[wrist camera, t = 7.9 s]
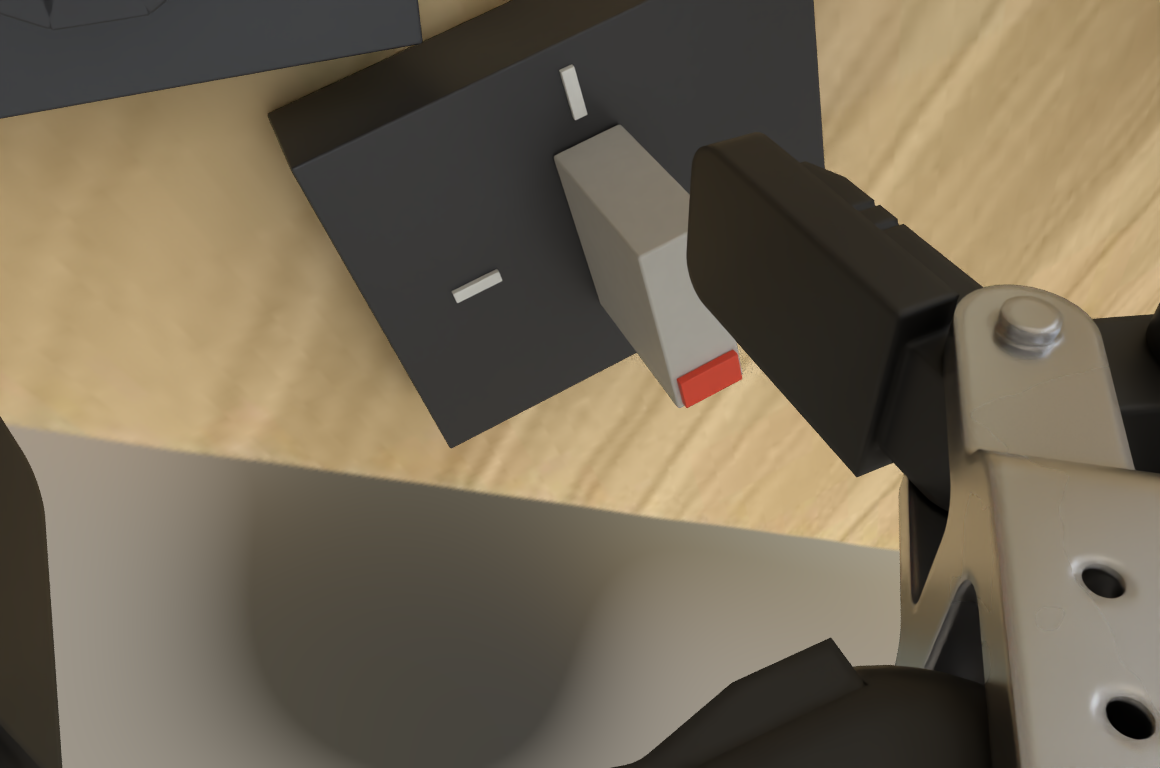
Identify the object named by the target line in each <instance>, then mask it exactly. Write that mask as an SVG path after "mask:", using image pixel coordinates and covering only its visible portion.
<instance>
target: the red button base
mask: <svg viewBox="0 0 1160 768" xmlns="http://www.w3.org/2000/svg"><path fill="white" fill-rule="evenodd" d="M421 43H422V32H421V23H420V15H419V6H418V0H0V119H1V118H7V117H12V116H18V115H23V114H29V113H35V112H40V111H46V110H51V109H57V108H63V107H68V106H74V105H80V104H85V103H91V102H96V101H102V100H108V99H113V98H119V97H124V96H130V95H136V94H141V93H147V92H153V91H158V90H164V89H169V88H175V87H181V86H186V85H192V84H197V83H203V82H209V81H214V80H220V79H226V78H231V77H237V76H242V75H248V74H254V73H259V72H265V71H270V70H276V69H282V68H287V67H293V66H299V65H304V64H310V63H315V62H321V61H327V60H332V59H338V58H343V57H349V56H355V55H360V54H366V53H371V52H377V51H383V50H388V49H394V48H400V47H405V46H411V45H416V44H421Z"/></svg>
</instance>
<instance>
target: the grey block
mask: <svg viewBox="0 0 1160 768" xmlns="http://www.w3.org/2000/svg"><path fill="white" fill-rule="evenodd" d="M554 161H555V164H556V167H557V170H558V173H559V176H560V179H561V182H562V186H563V189H564V192H565V195H566V198H567V201H568V204H569V207H570V210H571V214H572V217H573V220H574V223H575V226H576V229H577V232H578V235H579V238H580V241H581V245H582V248H583V251H584V254H585V257H586V260H587V263H588V266H589V269H590V273H591V276H592V279H593V282H594V285H595V288H596V291H597V294H598V297H599V301H600V304H601V305H602V306H603V308H604V309H605V310H606V312H607V313H608V314H609V316H610V317H611V318H612V320H613V321H614V323H615V324H616V325H617V327H618V328H619V329H620V331H621V332H622V333H623V335H624V336H625V337H626V339H627V340H628V341H629V343H630V344H631V345H632V347H633V348H634V349H635V351H636V352H637V354H638V355H639V356H640V358H641V359H642V360H643V362H644V363H645V364H646V366H647V367H648V368H649V370H650V371H651V372H652V374H653V375H654V376H655V378H656V379H657V380H658V382H659V383H660V385H661V386H662V387H663V389H664V390H665V391H666V393H667V394H668V395H669V397H670V398H671V399H672V401H673V402H674V403H675V405H676V406H677V407H678V408H681V407H683V406H685V407H686V408H688V407H690V406H692V405H694V404H696V403H698V402H700V401H702V400H703V399H705V398H707V397H709V396H711V395H713V394H715V393H717V392H719V391H720V390H722V389H724V388H726V387H728V386H730V385H732V384H734V383H736V382H738V381H739V380H741V379H742V369H741V364H740V358H739V353H738V347H737V342H736V341H735V339H734V338H733V337H732V336H731V335H730V334H729V333H728V332H727V330H726V329H725V328H724V327H723V326H722V325H721V324H720V323H719V321H718V320H717V319H716V318H715V317H714V316H713V315H712V314H711V312H710V311H709V310H708V309H707V308H706V307H705V306H704V304H703V303H702V302H701V301H700V299H699V297H698V296H697V294H696V292H695V290H694V288H693V285H692V283H691V280H690V277H689V273H688V268H687V260H686V250H687V233H688V216H689V200H690V195H689V194H688V193H687V192H686V191H685V190H684V189H683V188H682V187H681V185H680V184H679V183H678V182H677V181H676V180H675V179H674V178H673V177H672V176H671V175H670V174H669V173H668V172H667V171H666V170H665V169H664V168H663V167H662V166H661V165H660V164H659V163H658V162H657V161H656V160H655V159H654V158H653V157H652V156H651V155H650V154H649V153H648V152H647V151H646V150H645V149H644V148H643V147H642V146H641V145H640V144H639V143H638V142H637V141H636V140H635V139H634V138H633V137H632V136H631V135H630V134H629V133H628V132H627V131H626V130H625V129H624V128H623V127H622V126H621V125H616V126H614V127H612V128H610V129H608V130H606V131H604V132H602V133H600V134H598V135H596V136H594V137H592V138H590V139H588V140H586V141H584V142H581V143H579V144H577V145H575V146H573V147H571V148H569V149H567V150H565V151H563V152H561V153H559V154H557V155H555V156H554Z"/></svg>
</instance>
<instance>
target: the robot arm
mask: <svg viewBox="0 0 1160 768" xmlns="http://www.w3.org/2000/svg"><path fill="white" fill-rule="evenodd" d="M686 260H687V268H688V273H689V277H690V280H691V283H692V285H693V288H694V290H695V292H696V294H697V296H698V297H699V299H700V301H701V302H702V303H703V304H704V306H705V307H706V308H707V309H708V310H709V311H710V312H711V314H712V315H713V316H714V317H715V318H716V319H717V320H718V321H719V323H720V324H721V325H722V326H723V327H724V328H725V329H726V330H727V332H728V333H729V334H730V335H731V336H732V337H733V338H734V339H735V341H736V342H737V343H738V344H739V345H740V346H741V347H742V348H743V350H744V351H745V352H746V353H747V354H748V355H749V356H750V357H751V359H752V360H753V361H754V362H755V363H756V364H757V365H758V367H759V368H760V369H761V370H762V371H763V372H764V373H765V374H766V376H767V377H768V378H769V379H770V380H771V381H772V382H773V383H774V385H775V386H776V387H777V388H778V389H779V390H780V391H781V392H782V394H783V395H784V396H785V397H786V398H787V399H788V400H789V401H790V403H791V404H792V405H793V406H794V407H795V408H796V409H797V410H798V412H799V413H800V414H801V415H802V416H803V417H804V418H805V420H806V421H807V422H808V423H809V424H810V425H811V426H812V427H813V429H814V430H815V431H816V432H817V433H818V434H819V435H820V436H821V438H822V439H823V440H824V441H825V442H826V443H827V444H828V445H829V447H830V448H831V449H832V450H833V451H834V452H835V453H836V454H837V456H838V457H839V458H840V459H841V460H842V461H843V462H844V463H845V465H846V466H847V467H848V468H849V469H850V470H851V471H852V472H853V474H854V475H855V476H856V477H859V476H861V475H864V474H866V473H869V472H871V471H874V470H876V469H879V468H881V467H884V466H886V465H889V464H891V463H894V464H895V465H896V466H897V467H898V468H899V469H900V470H901V471H902V472H903V473H904V476H903V479H902V482H901V485H900V489H899V539H900V592H901V594H900V596H901V629H900V630H901V631H900V641H899V648H898V653H897V658H896V663H895V666H894V665H875V666H856V667H852V665H851V664H850V663H849V661H848V660H847V659H846V657H845V656H844V655H843V653H842V652H841V650H840V649H839V648H838V646H837V645H836V644H835V642H834V641H833V640H832V638H829V639H827V640H824V641H822V642H820V643H818V644H816V645H813V646H811V647H809V648H807V649H805V650H803V651H800V652H798V653H796V654H794V655H792V656H789V657H787V658H785V659H783V660H781V661H779V662H776V663H774V664H772V665H770V666H768V667H765V668H763V669H761V670H759V671H757V672H754V673H752V674H750V675H748V676H746V677H743V678H741V679H739V680H737V681H735V682H733V683H731V684H730V685H729V686H728V687H726V688H725V689H724V690H723V691H722V692H720V693H719V694H718V695H717V696H716V697H715V698H713V699H712V700H711V701H710V702H709V703H708V704H706V706H704V707H703V708H702V709H700V710H699V711H698V712H697V713H696V714H695V715H693V716H692V717H691V718H690V719H689V720H688V721H686V722H685V723H684V724H683V725H682V726H680V727H679V728H678V729H677V730H676V731H675V732H673V733H672V734H671V735H670V736H669V737H668V738H666V739H665V740H664V741H663V742H662V743H660V744H659V745H658V746H657V747H656V748H655V749H653V750H652V751H651V752H650V753H649V754H647V755H646V756H645V757H643V758H642V759H640V760H638V761H636V762H634V763H631V764H627V765H624V766H618V767H613V768H1160V303H1159V305H1158V307H1157V309H1156V311H1155V313H1154V314H1151V315H1138V316H1124V317H1111V318H1098V319H1092V318H1091V317H1090V316H1089V315H1088V314H1087V313H1086V312H1084V311H1083V310H1082V309H1081V308H1079V307H1078V306H1077V305H1075V304H1073V303H1072V302H1070V301H1069V300H1067V299H1065V298H1063V297H1060V296H1058V295H1056V294H1053V293H1051V292H1048V291H1045V290H1041V289H1037V288H1033V287H1028V286H1021V285H994V286H988V287H984V288H983V287H982V286H981V285H979V284H978V283H977V282H976V281H974V280H973V279H972V278H971V277H969V276H968V275H967V274H966V273H964V272H963V271H962V270H961V269H959V268H958V267H957V266H956V265H954V264H953V263H952V262H951V261H949V260H948V259H947V258H946V257H944V256H943V255H942V254H941V253H939V252H938V251H937V250H936V249H934V248H933V247H932V246H931V245H929V244H928V243H927V242H926V241H924V240H923V239H922V238H921V237H919V236H918V235H917V234H916V233H914V232H913V231H912V230H911V229H909V228H908V227H907V226H906V225H904V224H902V225H899V224H898V219H897V218H896V217H894V216H893V215H892V214H891V213H889V212H888V211H887V210H886V209H884V208H883V207H882V206H881V205H878V206H875V204H874V200H873V199H872V198H871V197H869V196H868V195H867V194H866V193H864V192H863V191H862V190H860V189H859V188H858V187H857V186H855V185H854V184H853V183H852V182H850V181H849V180H848V179H847V178H845V177H843V176H841V175H838V174H836V173H833V172H831V171H828V170H826V169H824V168H821V167H819V166H816V165H814V164H811V163H809V162H806V161H804V162H801V163H799V162H798V161H797V160H796V159H795V158H793V157H792V156H791V155H790V154H789V153H787V152H786V151H785V150H784V149H783V148H781V147H780V146H779V145H778V144H776V143H775V142H774V141H773V140H772V139H770V138H769V137H768V136H766V135H765V134H763V133H760V132H754V133H750V134H746V135H743V136H739V137H735V138H732V139H728V140H724V141H721V142H717V143H713V144H710V145H706V146H702V147H700V148H699V149H698V150H697V151H696V153H695V155H694V157H693V161H692V168H691V183H690V200H689V216H688V233H687V250H686ZM0 768H62V758H61V742H60V728H59V714H58V699H57V684H56V669H55V655H54V640H53V626H52V612H51V599H50V582H49V568H48V553H47V539H46V525H45V512H44V506H43V501H42V497H41V493H40V490H39V486H38V484H37V481H36V478H35V476H34V473H33V471H32V468H31V466H30V464H29V462H28V460H27V458H26V457H25V455H24V453H23V451H22V450H21V448H20V447H19V445H18V444H17V442H16V441H15V439H14V437H13V436H12V434H11V433H10V431H9V429H8V428H7V426H6V425H5V423H4V421H3V420H2V418H1V417H0Z"/></svg>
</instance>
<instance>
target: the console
mask: <svg viewBox="0 0 1160 768" xmlns="http://www.w3.org/2000/svg"><path fill="white" fill-rule="evenodd" d="M268 118H269V120H270V123H271V125H272V127H273V130H274V132H275V134H276V137H277V139H278V141H279V144H280V146H281V148H282V151H283V153H284V155H285V158H286V160H287V162H288V165H289V167H290V169H291V171H292V173H293V175H294V177H295V178H296V180H297V182H298V184H299V185H300V187H301V189H302V191H303V192H304V194H305V196H306V197H307V199H308V201H309V203H310V204H311V206H312V208H313V210H314V211H315V213H316V215H317V217H318V218H319V220H320V222H321V224H322V225H323V227H324V229H325V231H326V232H327V234H328V236H329V238H330V239H331V241H332V243H333V245H334V246H335V248H336V250H337V252H338V253H339V255H340V257H341V259H342V260H343V262H344V264H345V266H346V267H347V269H348V271H349V273H350V274H351V276H352V278H353V280H354V281H355V283H356V285H357V287H358V288H359V290H360V292H361V294H362V295H363V297H364V299H365V301H366V302H367V304H368V306H369V308H370V309H371V311H372V313H373V315H374V316H375V318H376V320H377V322H378V323H379V325H380V327H381V328H382V330H383V332H384V334H385V335H386V337H387V339H388V341H389V342H390V344H391V346H392V348H393V349H394V351H395V353H396V355H397V356H398V358H399V360H400V362H401V363H402V365H403V367H404V369H405V370H406V372H407V374H408V376H409V377H410V379H411V381H412V383H413V384H414V386H415V388H416V390H417V391H418V393H419V395H420V397H421V398H422V400H423V402H424V404H425V405H426V407H427V409H428V411H429V412H430V414H431V416H432V418H433V419H434V421H435V423H436V425H437V426H438V428H439V430H440V432H441V433H442V435H443V437H444V439H445V440H446V442H447V444H448V446H449V447H450V448H453V447H455V446H457V445H459V444H461V443H463V442H465V441H467V440H469V439H471V438H473V437H474V436H476V435H478V434H480V433H482V432H484V431H486V430H488V429H490V428H492V427H494V426H496V425H498V424H500V423H502V422H504V421H505V420H507V419H509V418H511V417H513V416H515V415H517V414H519V413H521V412H523V411H525V410H527V409H529V408H531V407H533V406H534V405H536V404H538V403H540V402H542V401H544V400H546V399H548V398H550V397H552V396H554V395H556V394H558V393H560V392H562V391H563V390H565V389H567V388H569V387H571V386H573V385H575V384H577V383H579V382H581V381H583V380H585V379H587V378H589V377H591V376H593V375H594V374H596V373H598V372H600V371H602V370H604V369H606V368H608V367H610V366H612V365H614V364H616V363H618V362H620V361H622V360H623V359H625V358H627V357H629V356H631V355H633V354H635V353H637V352H636V351H635V349H634V348H633V347H632V345H631V344H630V343H629V341H628V340H627V339H626V337H625V336H624V335H623V333H622V332H621V331H620V329H619V328H618V327H617V325H616V324H615V323H614V321H613V320H612V318H611V317H610V316H609V314H608V313H607V312H606V310H605V309H604V308H603V306H602V305H601V304H600V301H599V297H598V294H597V291H596V288H595V285H594V282H593V279H592V276H591V273H590V269H589V266H588V263H587V260H586V257H585V254H584V251H583V248H582V245H581V241H580V238H579V235H578V232H577V229H576V226H575V223H574V220H573V217H572V214H571V210H570V207H569V204H568V201H567V198H566V195H565V192H564V189H563V186H562V182H561V179H560V176H559V173H558V170H557V167H556V164H555V161H554V156H555V155H557V154H559V153H561V152H563V151H565V150H567V149H569V148H571V147H573V146H575V145H577V144H579V143H581V142H584V141H586V140H588V139H590V138H592V137H594V136H596V135H598V134H600V133H602V132H604V131H606V130H608V129H610V128H612V127H614V126H616V125H621V126H622V127H623V128H624V129H625V130H626V131H627V132H628V133H629V134H630V135H631V136H632V137H633V138H634V139H635V140H636V141H637V142H638V143H639V144H640V145H641V146H642V147H643V148H644V149H645V150H646V151H647V152H648V153H649V154H650V155H651V156H652V157H653V158H654V159H655V160H656V161H657V162H658V163H659V164H660V165H661V166H662V167H663V168H664V169H665V170H666V171H667V172H668V173H669V174H670V175H671V176H672V177H673V178H674V179H675V180H676V181H677V182H678V183H679V184H680V185H681V187H682V188H683V189H684V190H685V191H686V192H687V193H688V194H689V195H690V183H691V168H692V161H693V157H694V155H695V153H696V151H697V150H698V149H699V148H700V147H702V146H706V145H710V144H713V143H717V142H721V141H724V140H728V139H732V138H735V137H739V136H743V135H746V134H750V133H754V132H760V133H763V134H765V135H766V136H768V137H769V138H770V139H772V140H773V141H774V142H775V143H776V144H778V145H779V146H780V147H781V148H783V149H784V150H785V151H786V152H787V153H789V154H790V155H791V156H792V157H793V158H795V159H796V160H797V161H798V162H799V163H801V162H804V161H806V162H809V163H811V164H814V165H816V166H819V167H821V168H824V169H825V165H824V150H823V135H822V121H821V106H820V91H819V76H818V61H817V46H816V31H815V16H814V1H813V0H512V1H510V2H508V3H506V4H504V5H502V6H499V7H497V8H495V9H493V10H491V11H489V12H486V13H484V14H482V15H480V16H478V17H476V18H473V19H471V20H469V21H467V22H465V23H463V24H461V25H458V26H456V27H454V28H452V29H450V30H448V31H445V32H443V33H441V34H439V35H437V36H435V37H433V38H430V39H428V40H426V41H424V42H422V43H421V44H417V45H415V46H413V47H411V48H409V49H407V50H404V51H402V52H400V53H398V54H396V55H394V56H392V57H389V58H387V59H385V60H383V61H381V62H379V63H376V64H374V65H372V66H370V67H368V68H366V69H363V70H361V71H359V72H357V73H355V74H353V75H351V76H348V77H346V78H344V79H342V80H340V81H338V82H335V83H333V84H331V85H329V86H327V87H325V88H323V89H320V90H318V91H316V92H314V93H312V94H310V95H307V96H305V97H303V98H301V99H299V100H297V101H294V102H292V103H290V104H288V105H286V106H284V107H282V108H279V109H277V110H275V111H273V112H271V113H269V114H268Z"/></svg>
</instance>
